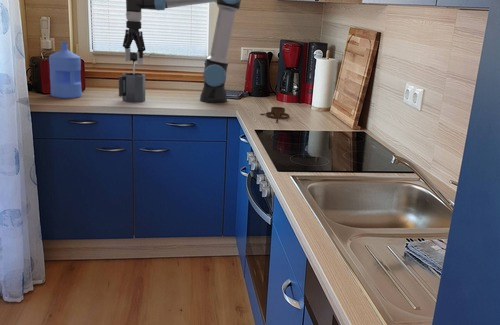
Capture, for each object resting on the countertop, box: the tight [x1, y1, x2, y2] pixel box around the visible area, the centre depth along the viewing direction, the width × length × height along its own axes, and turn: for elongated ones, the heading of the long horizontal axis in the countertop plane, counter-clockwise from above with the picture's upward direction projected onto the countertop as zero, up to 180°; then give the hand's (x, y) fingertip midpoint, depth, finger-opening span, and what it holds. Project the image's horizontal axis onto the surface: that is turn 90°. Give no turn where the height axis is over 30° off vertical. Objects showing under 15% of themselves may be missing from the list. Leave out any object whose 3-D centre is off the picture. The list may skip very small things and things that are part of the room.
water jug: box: [48, 41, 83, 99], centre depth 266 cm, size 16×16×28 cm
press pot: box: [118, 72, 146, 104], centre depth 267 cm, size 14×11×14 cm
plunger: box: [129, 51, 137, 76], centre depth 266 cm, size 8×8×20 cm
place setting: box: [260, 106, 290, 124], centre depth 252 cm, size 18×20×6 cm
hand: (133, 62), depth 264 cm, fingers open, 13 cm apart
